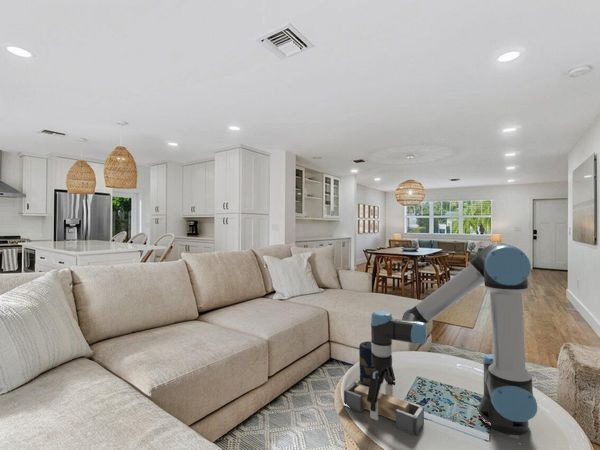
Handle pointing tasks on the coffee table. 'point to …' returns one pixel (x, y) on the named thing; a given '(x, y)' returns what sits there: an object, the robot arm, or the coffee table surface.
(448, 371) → the coffee table surface
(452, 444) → the coffee table surface
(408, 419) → the endcap
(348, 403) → the endcap
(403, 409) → the slat
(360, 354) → the canister
